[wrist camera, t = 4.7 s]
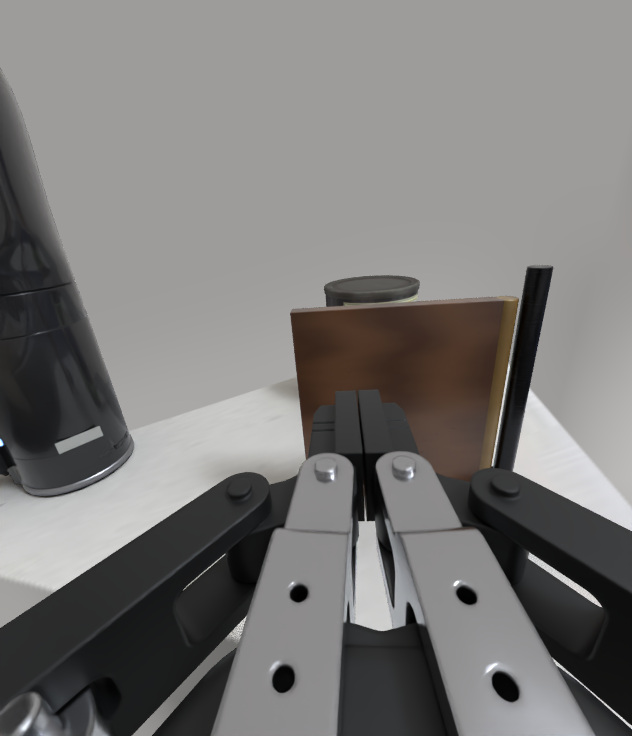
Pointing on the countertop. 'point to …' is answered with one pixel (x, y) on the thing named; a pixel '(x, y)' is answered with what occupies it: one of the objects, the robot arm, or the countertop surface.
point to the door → (414, 369)
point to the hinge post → (522, 363)
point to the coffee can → (371, 290)
